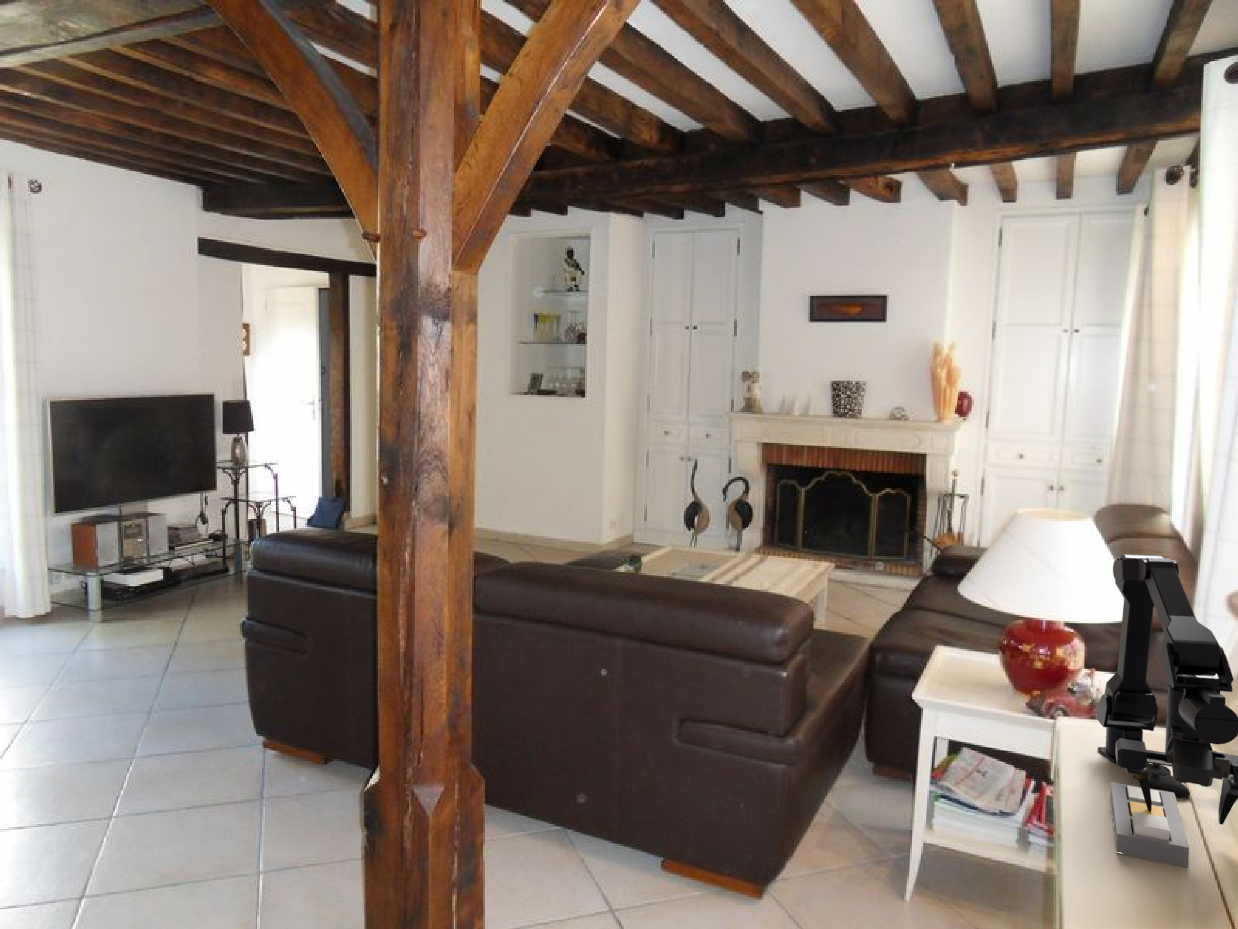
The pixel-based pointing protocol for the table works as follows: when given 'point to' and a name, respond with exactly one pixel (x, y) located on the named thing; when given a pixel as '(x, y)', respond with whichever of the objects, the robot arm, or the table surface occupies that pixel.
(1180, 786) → the game controller
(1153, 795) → the button
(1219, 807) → the robot arm
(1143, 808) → the button mid
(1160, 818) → the button
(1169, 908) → the table surface
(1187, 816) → the table surface
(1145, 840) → the switch strip
